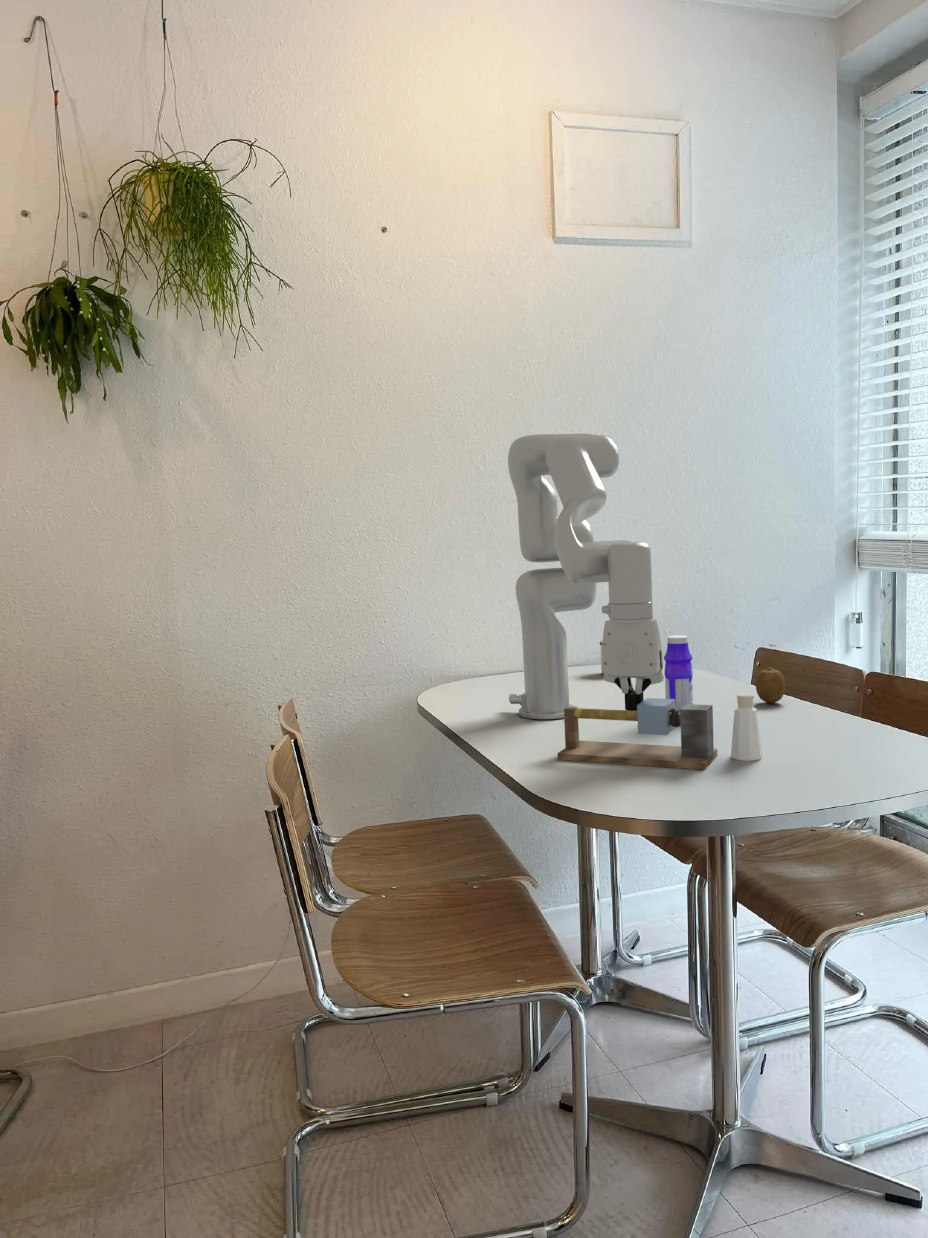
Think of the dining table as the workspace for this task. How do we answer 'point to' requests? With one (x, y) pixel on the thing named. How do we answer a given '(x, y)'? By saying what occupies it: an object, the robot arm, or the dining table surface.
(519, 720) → the dining table surface
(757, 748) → the pepper shaker
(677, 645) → the bottle
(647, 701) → the sleeve
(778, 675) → the fruit
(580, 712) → the rod stand
